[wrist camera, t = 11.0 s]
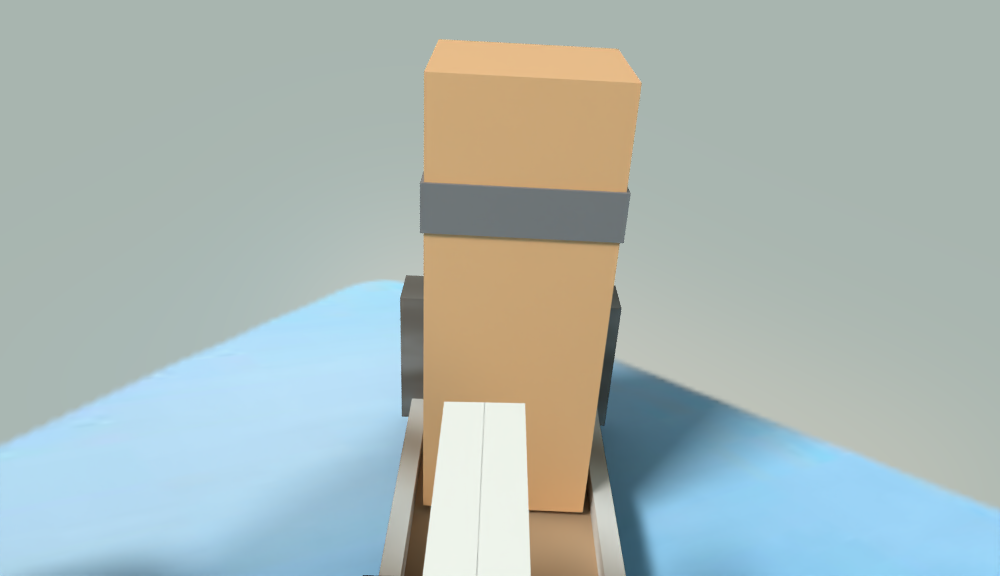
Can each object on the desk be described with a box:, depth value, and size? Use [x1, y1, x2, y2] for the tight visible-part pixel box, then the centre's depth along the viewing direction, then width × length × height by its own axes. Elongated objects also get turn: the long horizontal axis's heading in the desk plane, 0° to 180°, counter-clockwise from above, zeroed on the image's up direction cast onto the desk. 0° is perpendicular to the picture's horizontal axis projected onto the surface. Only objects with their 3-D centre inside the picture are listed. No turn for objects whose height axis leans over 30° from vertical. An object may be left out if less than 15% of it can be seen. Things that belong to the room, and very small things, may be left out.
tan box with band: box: [420, 39, 642, 512], centre depth 27 cm, size 5×6×16 cm
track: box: [379, 276, 626, 576], centre depth 23 cm, size 24×9×7 cm, turn 0°
